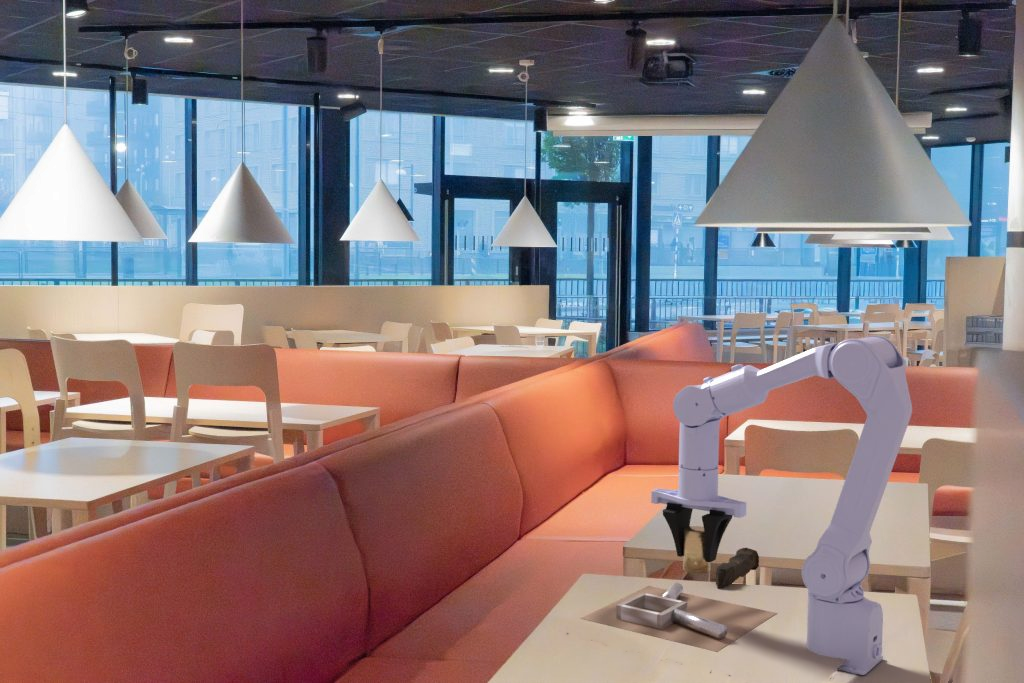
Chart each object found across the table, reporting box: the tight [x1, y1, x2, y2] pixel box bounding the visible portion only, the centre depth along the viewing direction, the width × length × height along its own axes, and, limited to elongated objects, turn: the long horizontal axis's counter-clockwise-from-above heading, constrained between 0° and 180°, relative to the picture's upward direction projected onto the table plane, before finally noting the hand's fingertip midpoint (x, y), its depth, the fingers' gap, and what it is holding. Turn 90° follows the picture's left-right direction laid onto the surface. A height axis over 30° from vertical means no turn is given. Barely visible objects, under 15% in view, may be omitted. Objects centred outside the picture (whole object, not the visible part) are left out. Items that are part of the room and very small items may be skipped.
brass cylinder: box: [682, 525, 712, 575], centre depth 157 cm, size 4×4×6 cm
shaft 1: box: [662, 582, 684, 600], centre depth 164 cm, size 8×2×2 cm, turn 158°
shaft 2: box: [671, 609, 727, 640], centre depth 152 cm, size 9×2×2 cm, turn 38°
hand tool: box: [715, 547, 760, 590], centre depth 180 cm, size 19×4×5 cm, turn 151°
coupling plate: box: [580, 585, 778, 653], centre depth 158 cm, size 22×20×4 cm
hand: (696, 557), depth 157 cm, fingers closed on brass cylinder, 4 cm apart
